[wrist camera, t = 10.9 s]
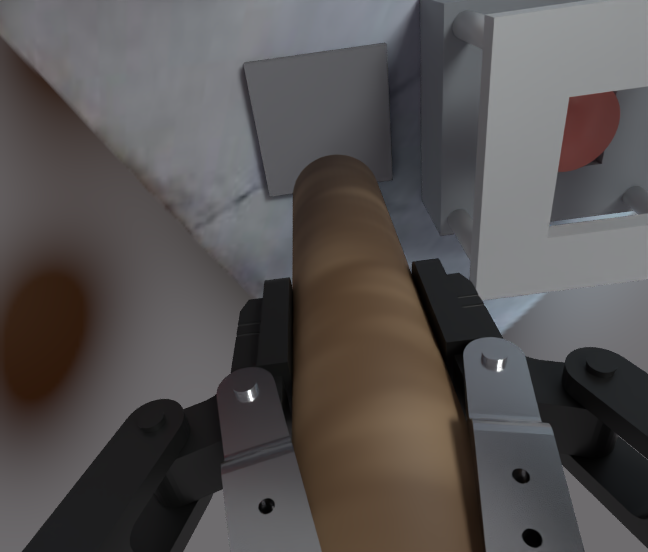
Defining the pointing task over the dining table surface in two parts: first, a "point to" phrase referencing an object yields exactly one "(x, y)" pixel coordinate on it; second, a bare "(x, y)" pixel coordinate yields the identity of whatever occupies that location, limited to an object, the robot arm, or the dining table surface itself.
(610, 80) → the grey square frame
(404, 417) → the wooden cylinder rod
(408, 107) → the dining table surface
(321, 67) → the pad
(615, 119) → the breaker plunger
